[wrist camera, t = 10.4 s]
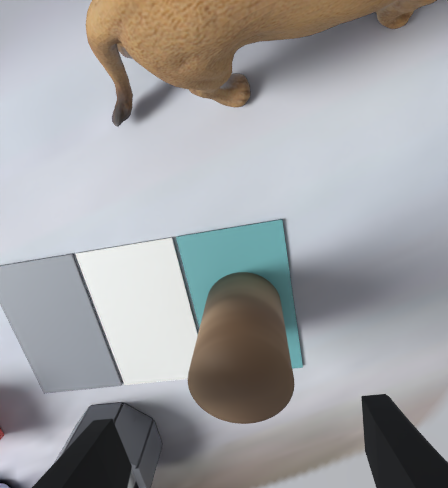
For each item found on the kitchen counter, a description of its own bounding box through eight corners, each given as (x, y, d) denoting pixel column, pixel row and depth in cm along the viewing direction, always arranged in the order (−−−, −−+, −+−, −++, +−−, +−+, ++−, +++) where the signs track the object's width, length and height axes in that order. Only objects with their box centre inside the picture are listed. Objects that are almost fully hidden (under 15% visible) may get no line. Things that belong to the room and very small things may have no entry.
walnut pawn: (214, 340, 16) (199, 426, 12) (199, 277, 15) (176, 345, 11) (285, 332, 16) (299, 419, 11) (275, 267, 15) (287, 334, 10)
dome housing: (94, 466, 21) (72, 516, 18) (67, 407, 19) (37, 453, 16) (168, 461, 20) (156, 512, 17) (147, 400, 18) (129, 446, 16)
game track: (45, 392, 19) (44, 393, 19) (-16, 268, 16) (-17, 269, 16) (302, 366, 17) (302, 367, 17) (281, 219, 14) (282, 219, 14)
